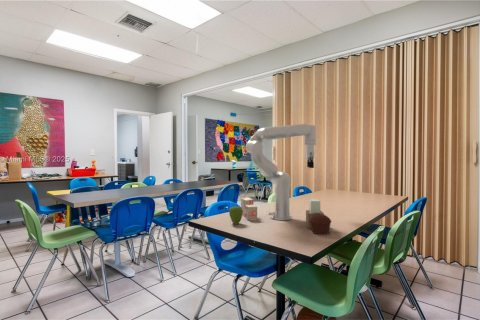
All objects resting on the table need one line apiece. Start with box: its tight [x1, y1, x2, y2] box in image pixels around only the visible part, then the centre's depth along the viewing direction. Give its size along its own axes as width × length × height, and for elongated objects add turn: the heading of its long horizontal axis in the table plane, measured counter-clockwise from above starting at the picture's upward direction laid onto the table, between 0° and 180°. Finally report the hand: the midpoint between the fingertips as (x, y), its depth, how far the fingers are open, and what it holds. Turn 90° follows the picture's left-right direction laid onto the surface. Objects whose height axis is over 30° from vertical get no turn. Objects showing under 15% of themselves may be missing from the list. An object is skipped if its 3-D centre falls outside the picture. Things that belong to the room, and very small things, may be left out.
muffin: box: [310, 214, 333, 236], centre depth 150 cm, size 12×11×10 cm
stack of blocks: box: [240, 196, 258, 222], centre depth 189 cm, size 21×6×12 cm, turn 13°
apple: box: [228, 205, 243, 225], centre depth 171 cm, size 9×8×12 cm
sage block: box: [308, 199, 321, 213], centre depth 162 cm, size 6×6×7 cm
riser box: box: [305, 209, 325, 230], centre depth 162 cm, size 9×9×9 cm
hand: (310, 167), depth 189 cm, fingers open, 9 cm apart
